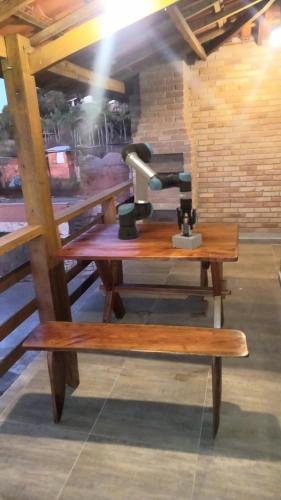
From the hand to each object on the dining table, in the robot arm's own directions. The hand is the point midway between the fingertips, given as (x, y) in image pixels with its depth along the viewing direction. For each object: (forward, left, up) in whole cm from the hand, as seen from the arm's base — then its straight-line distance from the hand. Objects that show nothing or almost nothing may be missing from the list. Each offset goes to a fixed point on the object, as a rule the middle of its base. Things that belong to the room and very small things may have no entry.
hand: (187, 234), depth 243 cm
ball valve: (-10, +19, -8) cm, 23 cm away
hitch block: (0, 0, -8) cm, 8 cm away
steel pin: (0, 0, -2) cm, 2 cm away
